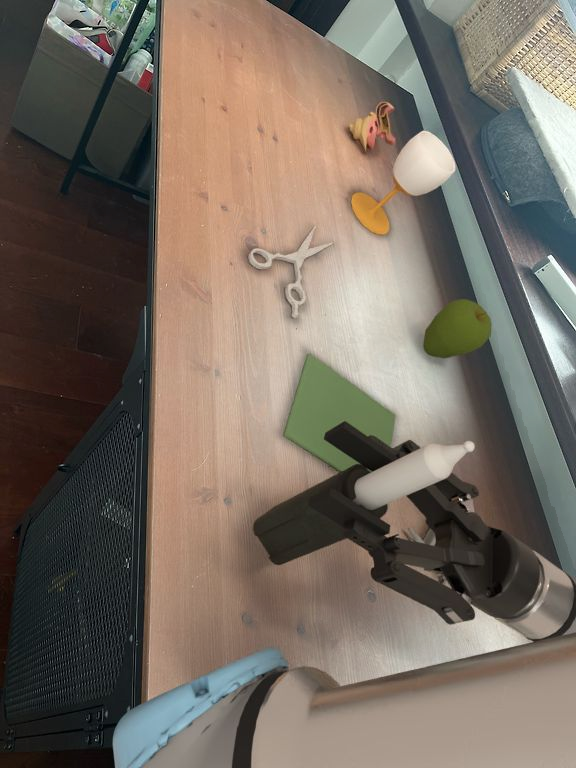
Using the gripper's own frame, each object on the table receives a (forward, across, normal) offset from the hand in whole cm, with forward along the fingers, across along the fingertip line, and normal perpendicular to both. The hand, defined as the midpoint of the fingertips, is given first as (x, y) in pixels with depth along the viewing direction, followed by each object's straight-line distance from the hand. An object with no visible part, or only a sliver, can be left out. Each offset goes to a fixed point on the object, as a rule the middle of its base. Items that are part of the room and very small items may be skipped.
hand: (327, 462), depth 51 cm
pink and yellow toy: (-3, +87, -17) cm, 89 cm away
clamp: (-29, +13, -18) cm, 36 cm away
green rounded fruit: (-25, +46, -17) cm, 55 cm away
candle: (-5, 0, -14) cm, 15 cm away
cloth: (-12, +21, -17) cm, 30 cm away
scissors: (+2, +43, -17) cm, 46 cm away
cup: (-8, +67, -17) cm, 70 cm away
